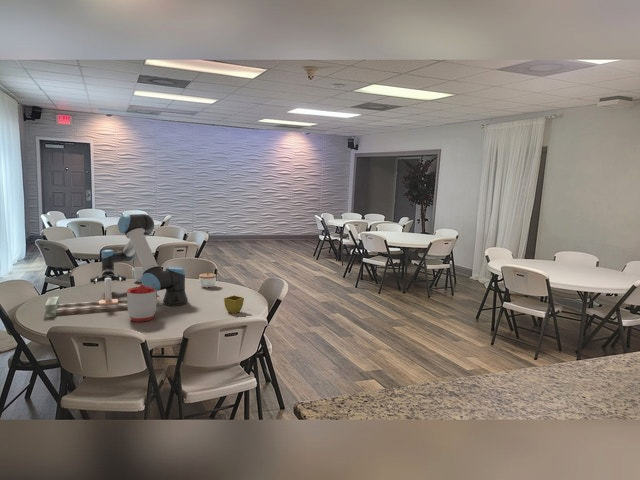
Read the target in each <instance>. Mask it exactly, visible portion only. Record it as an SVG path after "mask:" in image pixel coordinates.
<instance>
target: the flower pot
mask: <svg viewBox="0 0 640 480" xmlns="http://www.w3.org/2000/svg"><path fill="white" fill-rule="evenodd" d="M244 300H245V298H244V296H238V295H230V296H226V297H224V298H223V302H224V308H225V310H226V311H227V313H231V314H237V313H240V312H241V311H242V308H243V305H244V302H245V301H244Z"/></svg>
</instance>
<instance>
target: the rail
mask: <svg viewBox="0 0 640 480" xmlns="http://www.w3.org/2000/svg"><path fill="white" fill-rule="evenodd" d="M116 311H117V312H118V311H128V306H127V298H125V299H118V305H108V306H99V301H87V302H86V301H85V302H71V303H60V296H49V297H47V301H46V302H45V305H44V317H45V318H56V317H57V316H56V315H58V316H68V315H81V314H93V313H94V314H95V313H105V312H116Z"/></svg>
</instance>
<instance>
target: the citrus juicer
mask: <svg viewBox="0 0 640 480" xmlns="http://www.w3.org/2000/svg"><path fill="white" fill-rule="evenodd" d="M157 298H161V297H160V295H159V294H158V291H157V290H155V291H154V287H145V286H144V285H142V284H140V285H139V286H136V287H131V288H128V289H126V299H127V306H128V310H127V312H128V314H129V318H130V320H131V321H133V322H136V323H141V322H147V321H148V322H149V321H152V320H153V319H154V317H155V313H156V310H157V300H158V299H157Z"/></svg>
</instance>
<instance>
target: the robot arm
mask: <svg viewBox="0 0 640 480" xmlns="http://www.w3.org/2000/svg"><path fill="white" fill-rule="evenodd" d="M117 222H118V223H117V228H118V231H119V232H120V233H121V234H125V238H126V239H129V241H128V242H127V243H126V245H125V246H124V248H123V249H122V251H114V250H113V249H104V250H102V251H101V276H100V275H96V276H94V277H92V278H90V284H91V283H93V285H95V286H98V283H99V282H100V283H101V282H105V278H111V282H114V281H119V285H122V282H126V280H127V277H126V276H124V275H120V274H117V275H115V264H118V263H127V262H132V261H134V260H135V257H136V256H137V258H138V260H139V263H140V265H141V267H142V268H143V270H144V272H143V276H142V278H141V280H142V282H141V285H144V286H145V287H154V291H155V290H157V292H158V291H162V290H163V291H164V290H165V293H164V297H163V300H162V304H163V305H165V306H170V307H171V306H172V307H177V306H183V305H187V304H188V301H189V298H188V297H187V292H186V270H185V268H182V267H179V266H178V267H176V266H166V267H165V270H164V269H163V268H162V265H161V266H160V265H158V263H157V260H156V258H155V257H154V254H153V252H152V250H151V247H150V245H149V242H148V241H147V237H148V236H150V235H151V234H152V233H153V231H154V229H155V220H153V218H152V217H151V216H150V215H149V214H146V213H137V214H134V213H133V214H129V213H127V214H123V215H121V216H120V217H119V219H118V221H117Z"/></svg>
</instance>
